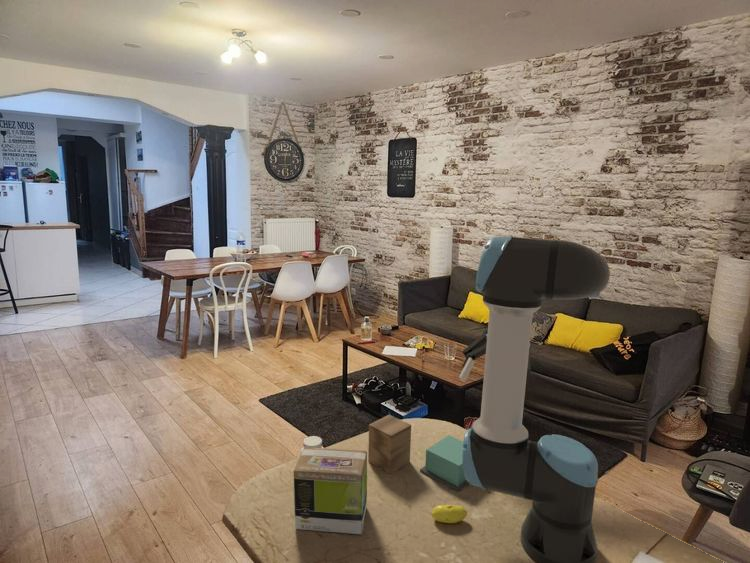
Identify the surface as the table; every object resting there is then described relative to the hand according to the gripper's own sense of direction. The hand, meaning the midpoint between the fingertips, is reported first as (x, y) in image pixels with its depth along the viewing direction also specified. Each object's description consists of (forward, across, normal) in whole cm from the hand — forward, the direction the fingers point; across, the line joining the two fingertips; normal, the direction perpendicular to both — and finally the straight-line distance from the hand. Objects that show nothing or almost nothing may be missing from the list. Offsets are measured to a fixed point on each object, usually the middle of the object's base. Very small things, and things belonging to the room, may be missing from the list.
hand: (483, 387), depth 133 cm
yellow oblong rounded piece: (+34, -9, +4) cm, 36 cm away
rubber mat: (+22, +1, -7) cm, 24 cm away
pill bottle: (+43, +24, +12) cm, 51 cm away
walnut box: (+28, +16, -1) cm, 33 cm away
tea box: (+47, +10, +16) cm, 51 cm away
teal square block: (+22, +1, -7) cm, 23 cm away
